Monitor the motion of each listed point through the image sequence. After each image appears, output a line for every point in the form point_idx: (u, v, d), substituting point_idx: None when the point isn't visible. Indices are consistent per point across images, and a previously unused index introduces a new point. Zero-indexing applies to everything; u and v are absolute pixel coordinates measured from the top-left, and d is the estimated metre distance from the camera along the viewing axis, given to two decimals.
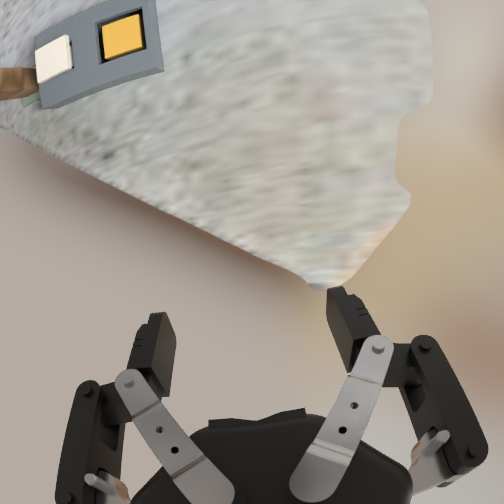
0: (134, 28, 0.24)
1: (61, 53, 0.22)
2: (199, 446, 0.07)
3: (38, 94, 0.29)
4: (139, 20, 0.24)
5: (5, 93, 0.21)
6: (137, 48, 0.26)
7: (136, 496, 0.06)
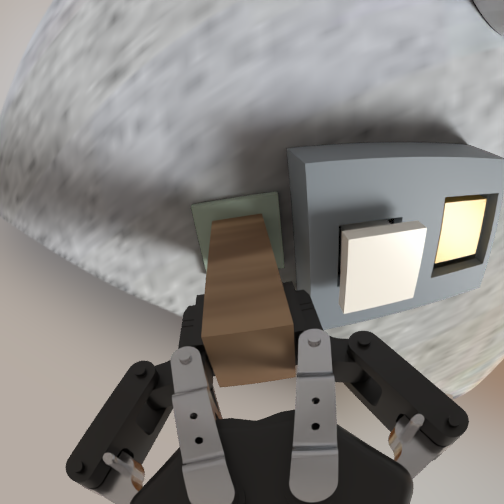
0: (478, 222, 0.18)
1: (411, 267, 0.15)
2: None
3: None
4: (483, 208, 0.17)
5: None
6: None
7: (136, 496, 0.06)
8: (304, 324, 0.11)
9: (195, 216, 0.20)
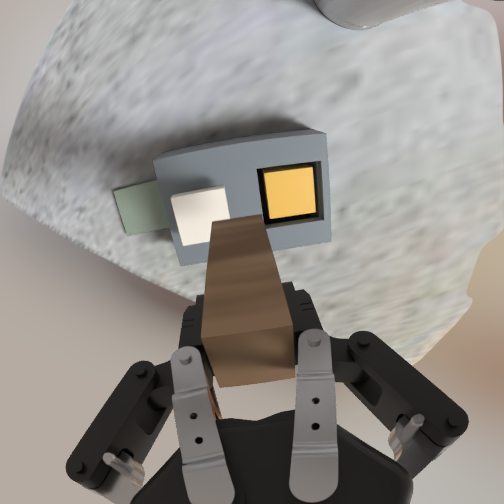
0: (308, 186, 0.29)
1: (221, 215, 0.27)
2: None
3: (150, 225, 0.34)
4: (312, 175, 0.29)
5: None
6: None
7: (136, 496, 0.06)
8: (304, 324, 0.11)
9: (116, 196, 0.31)
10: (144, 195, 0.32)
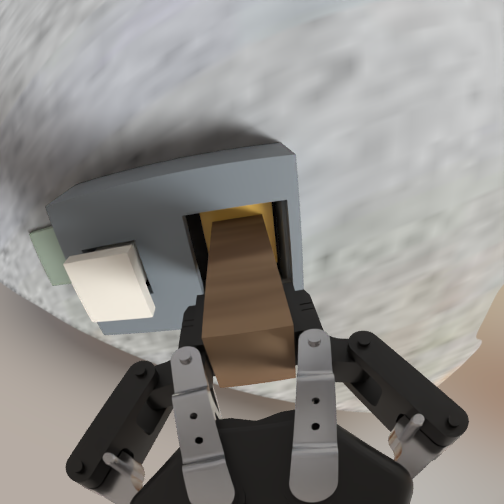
0: None
1: (130, 289, 0.17)
2: None
3: None
4: None
5: None
6: None
7: (136, 496, 0.06)
8: (304, 324, 0.11)
9: (33, 240, 0.22)
10: None
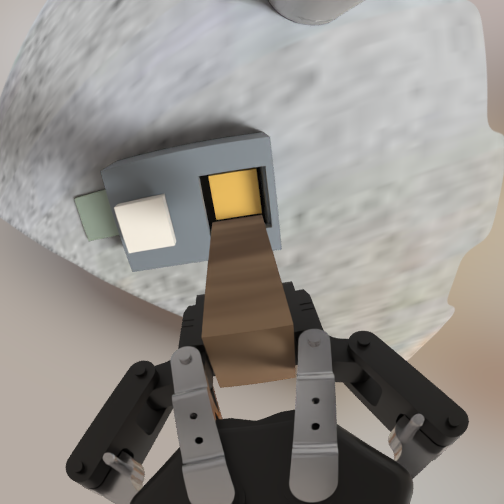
0: (252, 188, 0.30)
1: (161, 223, 0.26)
2: None
3: (108, 231, 0.33)
4: None
5: None
6: None
7: (136, 496, 0.06)
8: (304, 324, 0.11)
9: (77, 204, 0.31)
10: (101, 202, 0.31)
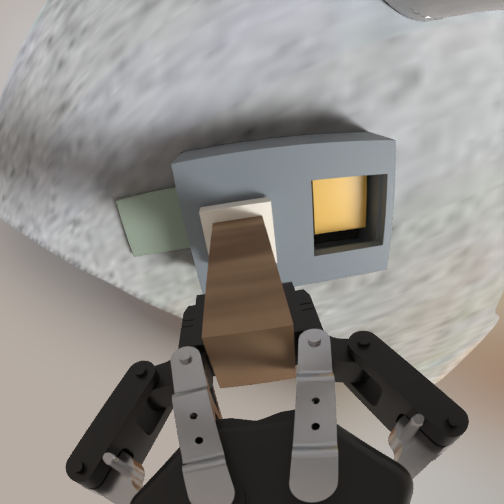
0: (360, 197, 0.24)
1: None
2: None
3: (164, 245, 0.27)
4: (365, 184, 0.24)
5: None
6: None
7: (136, 496, 0.06)
8: (304, 324, 0.11)
9: (119, 208, 0.25)
10: (156, 207, 0.25)
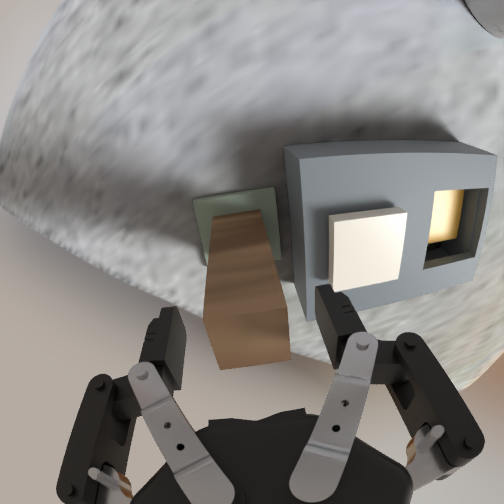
0: (457, 208, 0.20)
1: (394, 249, 0.17)
2: None
3: None
4: (461, 195, 0.20)
5: None
6: None
7: (136, 496, 0.06)
8: (350, 327, 0.11)
9: (196, 210, 0.21)
10: None
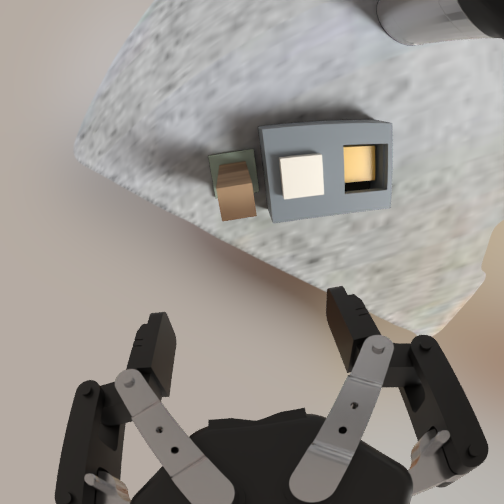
0: (371, 160, 0.36)
1: (317, 175, 0.33)
2: (199, 446, 0.07)
3: None
4: (374, 152, 0.36)
5: None
6: None
7: (136, 496, 0.06)
8: (365, 331, 0.10)
9: (210, 161, 0.37)
10: None
